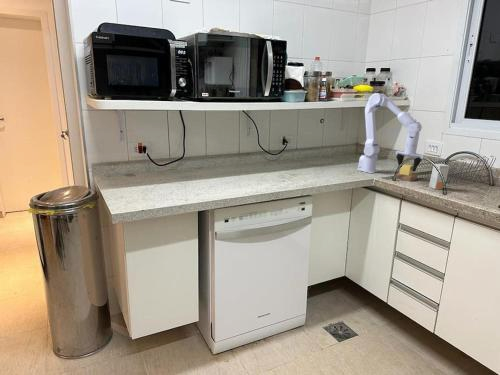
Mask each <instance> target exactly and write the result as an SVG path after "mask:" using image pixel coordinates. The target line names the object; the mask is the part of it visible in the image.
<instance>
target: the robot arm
mask: <svg viewBox="0 0 500 375" xmlns="http://www.w3.org/2000/svg"><path fill="white" fill-rule="evenodd" d="M381 106H382V107H386V108H388V109H389V110H390V112H392V113H393V114H395V115H396V116H397V121H399V123H401V125H403V127H405V129H406V130H407V135H406V141H405V146H404V151H402V150H396V151H395V155H396V160H397V165H398V166H399V165H400V164H401V163H402V162H404V158H405V157H410V158H415V157H418V158H416V159H413V165H414V166H413V172H416V171H417V168H418V166H419V164H420V163H421V162H422V161H423V160H424V159H425V154H421V153H417V149H418V145H419V144H418V143H419V138H420V132H421V131H422V128H423V127H422V124H421V122H419V121H418V120H417V119H416V118H413V116H412V115H411V113H410V112H407V111H403V110H401V108H400V107H399V106H398V105H397V104H396V103H394V101H393V100H392V99H391V98H390V97H388V96H387V95H386V94H385V93H378V92H375V93H373V94H371V95H370V96H369V97H368V101H367V104H366V105H365V107H364V118H365V135H366V141H365V143H364V148H363V153H364V154H361V156H359V160H358V166H357V169H356V170H357V171H360V172H365V173H369V174H374V173H378V172H379V171H378V170H376V168H377V165H378V164H377V163H378V154H380V151H381V147H380V146H379V145H380V144H379V141H378V140H377V129H376V112H377V110H378V109H379V108H380V107H381ZM423 158H424V159H423ZM402 164H403V163H402Z"/></svg>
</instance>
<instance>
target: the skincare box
mask: <svg viewBox="0 0 500 375" xmlns="http://www.w3.org/2000/svg"><path fill="white" fill-rule="evenodd" d="M434 164H435V165H436V166H437V167H438V169H439V170H440V171H441V172H442V174H443V177H444V179H445V182H446V183H447V179H448V175H449V171H450V165H448V164H445V163H434ZM428 184H429V185H428V187H429V188H431V189H433V190H443V189H442V180H441V177H440V174H439V172H438V171H437V170H436V168H435V167H434V166H432V172H431V175H430V179H429V183H428Z"/></svg>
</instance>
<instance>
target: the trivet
mask: <svg viewBox="0 0 500 375" xmlns="http://www.w3.org/2000/svg"><path fill="white" fill-rule="evenodd" d="M395 173H396V172H395ZM395 173H393V176H394V175H395ZM418 176H419V174H416V173H413V174H412V175H409V176H408V175H404V174H400V171H399V172H398V174H397V178H396V179H398V180H401V181H402V180H403V181H408V182H412V181H416V180H418Z"/></svg>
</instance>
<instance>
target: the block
mask: <svg viewBox="0 0 500 375" xmlns="http://www.w3.org/2000/svg"><path fill="white" fill-rule="evenodd" d="M403 164H404V165H403V166H402V167H401V168H400V169H399V172H400V174H404V175H408V176H409V175H412V174H414V173H413V172H414V171H413V166H414V164H407V163H403Z"/></svg>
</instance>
